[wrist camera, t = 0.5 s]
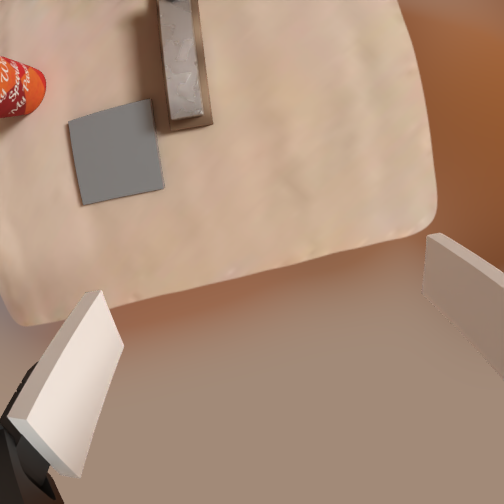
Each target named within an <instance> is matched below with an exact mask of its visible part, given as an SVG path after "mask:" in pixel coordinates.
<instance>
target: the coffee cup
mask: <svg viewBox="0 0 504 504" xmlns="http://www.w3.org/2000/svg"><path fill="white" fill-rule="evenodd" d="M45 91H46V80H45V77H44V75H43V74H42V72H40V71H39V70H37V69H35V68H33V67H30V66H28V65H25V64H22V63H20V62H17V61H14V60H11V59H8V58H5V57H2V56H0V118H5V117H12V116H20V115H26V114H29V113H31V112H33V111H34V110H35V109H36V108H37V107H38V106H39V105H40V103H41V102H42V100H43V98H44V95H45Z"/></svg>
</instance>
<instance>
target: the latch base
mask: <svg viewBox="0 0 504 504" xmlns="http://www.w3.org/2000/svg"><path fill="white" fill-rule="evenodd" d="M156 1H157V15H158V27H159V38H160V48H161V58H162V67H163V76H164V85H165V93H166V101H167V109H168V116H169V123H170V130H171V131H176V130H181V129H187V128H193V127H199V126H205V125H211V124H213V120H212V112H211V105H210V97H209V89H208V81H207V73H206V65H205V57H204V49H203V41H202V32H201V24H200V15H199V6H198V0H191V8H192V17H193V27H194V35H195V44H196V53H197V61H198V69H199V77H200V85H201V93H202V101H203V108H204V116H198V117H192V118H186V119H181V120H172V119H171V113H170V105H169V97H168V89H167V81H166V73H165V64H164V54H163V44H162V34H161V23H160V10H159V0H156Z"/></svg>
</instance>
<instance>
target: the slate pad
mask: <svg viewBox="0 0 504 504" xmlns="http://www.w3.org/2000/svg"><path fill="white" fill-rule="evenodd" d="M68 123H69V130H70V138H71V144H72V150H73V156H74V162H75V168H76V173H77V178H78V183H79V188H80V193H81V197H82V202H83V205H86V204H91V203H95V202H100V201H104V200H109V199H114V198H118V197H123V196H128V195H133V194H138V193H143V192H149V191H154V190H159V189H164V188H165V184H164V179H163V173H162V167H161V161H160V155H159V148H158V142H157V135H156V128H155V121H154V114H153V106H152V99H146V100H142V101H138V102H134V103H130V104H126V105H122V106H118V107H114V108H111V109H107V110H104V111H100V112H97V113H93V114H90V115H87V116H84V117H81V118H77V119H74V120H71V121H68Z"/></svg>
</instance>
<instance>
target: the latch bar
mask: <svg viewBox="0 0 504 504" xmlns="http://www.w3.org/2000/svg"><path fill="white" fill-rule="evenodd" d="M159 10H160V23H161V34H162V44H163V54H164V64H165V73H166V81H167V89H168V97H169V105H170V113H171V119H172V120H181V119H186V118H192V117H198V116H204V108H203V101H202V93H201V85H200V77H199V69H198V61H197V53H196V44H195V35H194V27H193V17H192V8H191V0H159Z"/></svg>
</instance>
